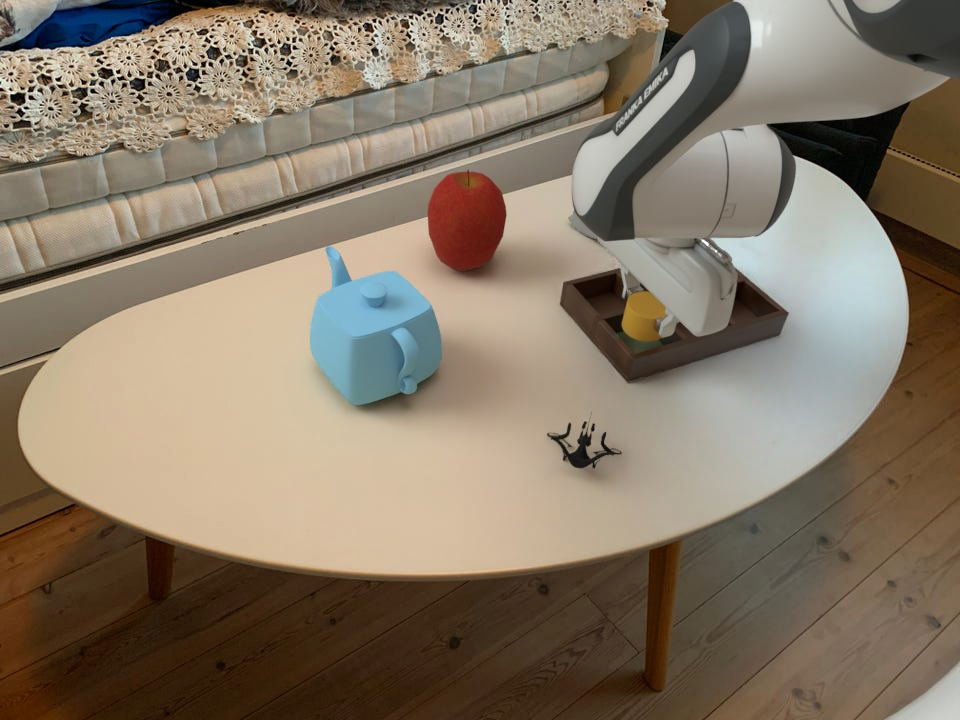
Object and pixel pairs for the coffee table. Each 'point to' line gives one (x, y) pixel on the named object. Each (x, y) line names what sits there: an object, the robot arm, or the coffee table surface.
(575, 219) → the grey flat piece
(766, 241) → the coffee table surface
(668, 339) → the grid
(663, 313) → the cylinder
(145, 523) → the coffee table surface
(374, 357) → the teapot
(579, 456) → the creature
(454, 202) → the apple
